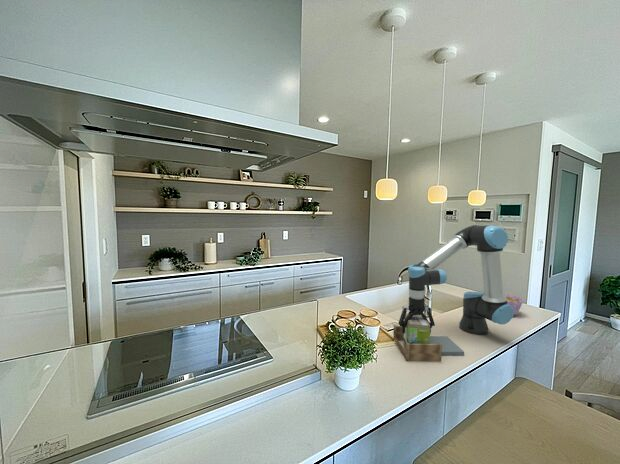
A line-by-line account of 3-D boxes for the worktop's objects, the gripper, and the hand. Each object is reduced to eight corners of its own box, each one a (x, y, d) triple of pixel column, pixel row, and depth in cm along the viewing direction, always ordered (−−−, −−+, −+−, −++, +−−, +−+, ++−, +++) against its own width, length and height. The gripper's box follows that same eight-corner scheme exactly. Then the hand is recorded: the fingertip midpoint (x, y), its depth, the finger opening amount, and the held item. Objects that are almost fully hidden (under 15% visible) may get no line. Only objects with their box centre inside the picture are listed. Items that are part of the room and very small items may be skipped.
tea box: (430, 354, 126) (430, 325, 125) (408, 353, 128) (408, 323, 127) (423, 340, 141) (423, 313, 140) (403, 338, 143) (403, 312, 142)
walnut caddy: (422, 339, 145) (423, 325, 145) (441, 361, 124) (442, 344, 123) (393, 339, 146) (393, 325, 145) (406, 361, 124) (407, 344, 124)
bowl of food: (480, 310, 191) (481, 294, 191) (500, 307, 197) (501, 292, 197) (508, 320, 172) (509, 303, 172) (529, 317, 178) (530, 300, 178)
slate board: (446, 339, 146) (446, 336, 146) (464, 355, 129) (464, 351, 129) (423, 339, 146) (423, 335, 146) (437, 355, 129) (437, 351, 129)
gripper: (436, 294, 137) (435, 335, 138) (391, 295, 137) (391, 335, 138) (443, 299, 129) (442, 342, 130) (396, 299, 130) (396, 342, 131)
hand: (416, 338), depth 134 cm, fingers closed on tea box, 11 cm apart
